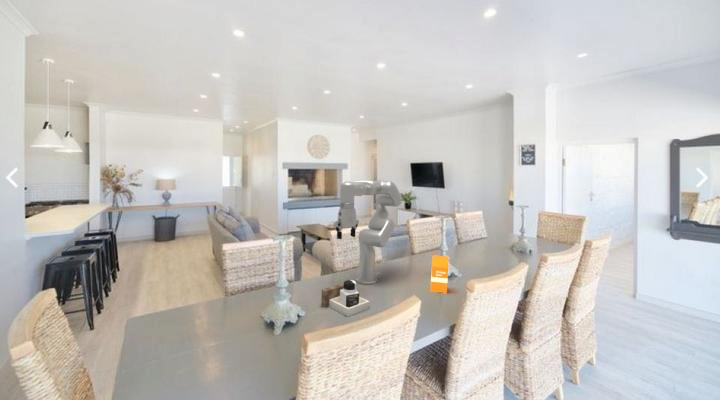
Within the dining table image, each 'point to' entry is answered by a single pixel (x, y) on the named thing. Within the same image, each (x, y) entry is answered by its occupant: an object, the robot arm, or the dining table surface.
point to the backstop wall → (330, 294)
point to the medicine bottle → (349, 294)
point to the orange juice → (439, 274)
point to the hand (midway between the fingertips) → (346, 237)
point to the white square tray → (352, 310)
